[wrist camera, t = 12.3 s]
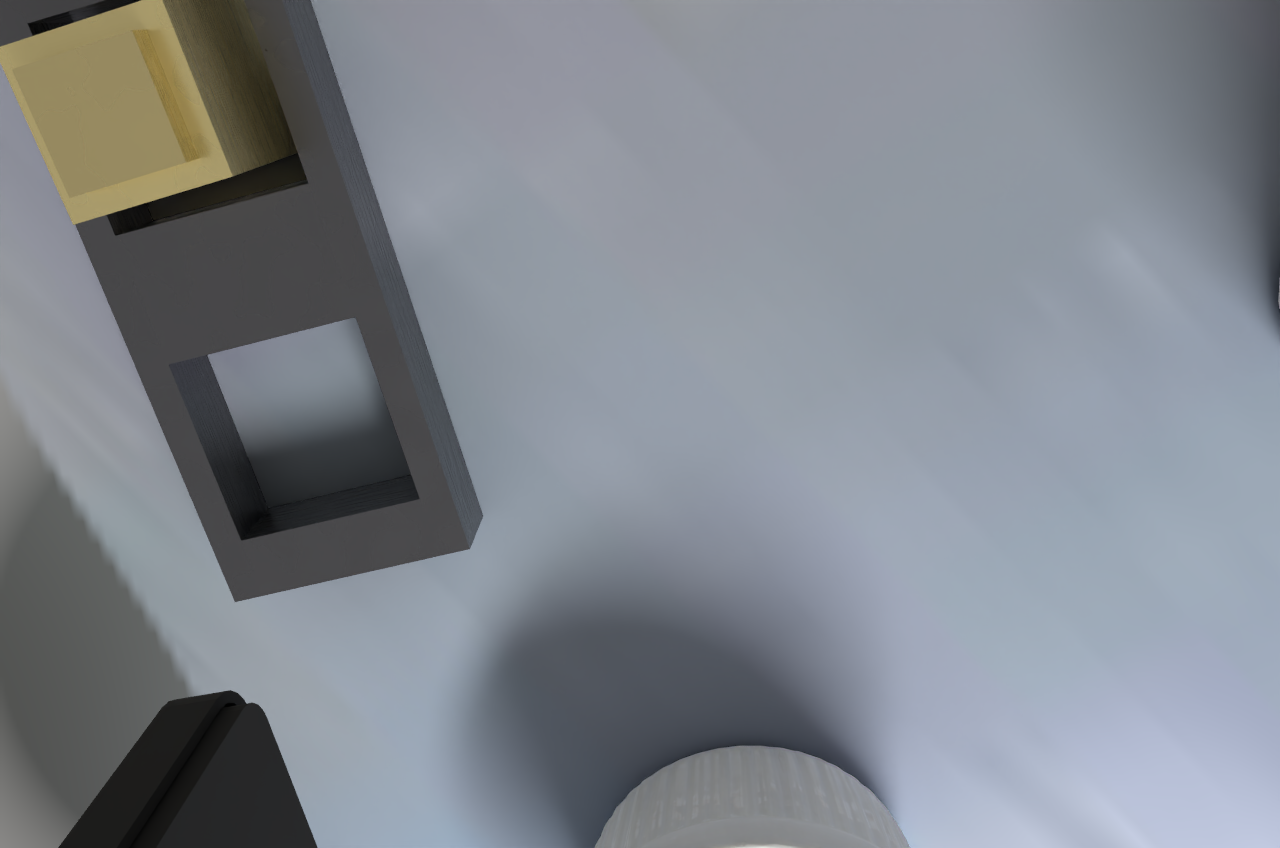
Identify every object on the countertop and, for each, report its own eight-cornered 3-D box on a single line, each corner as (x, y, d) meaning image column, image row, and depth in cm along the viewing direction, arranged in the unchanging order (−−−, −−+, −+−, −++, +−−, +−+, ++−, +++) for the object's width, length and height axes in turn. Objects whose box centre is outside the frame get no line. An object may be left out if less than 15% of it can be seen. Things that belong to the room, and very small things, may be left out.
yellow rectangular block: (108, 42, 34) (-25, 49, 28) (249, -3, 33) (145, -7, 27) (170, 190, 35) (57, 230, 29) (305, 149, 35) (220, 181, 28)
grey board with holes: (13, -40, 33) (-39, -43, 31) (270, -118, 32) (237, -128, 30) (261, 566, 40) (235, 601, 37) (483, 516, 39) (469, 548, 36)
